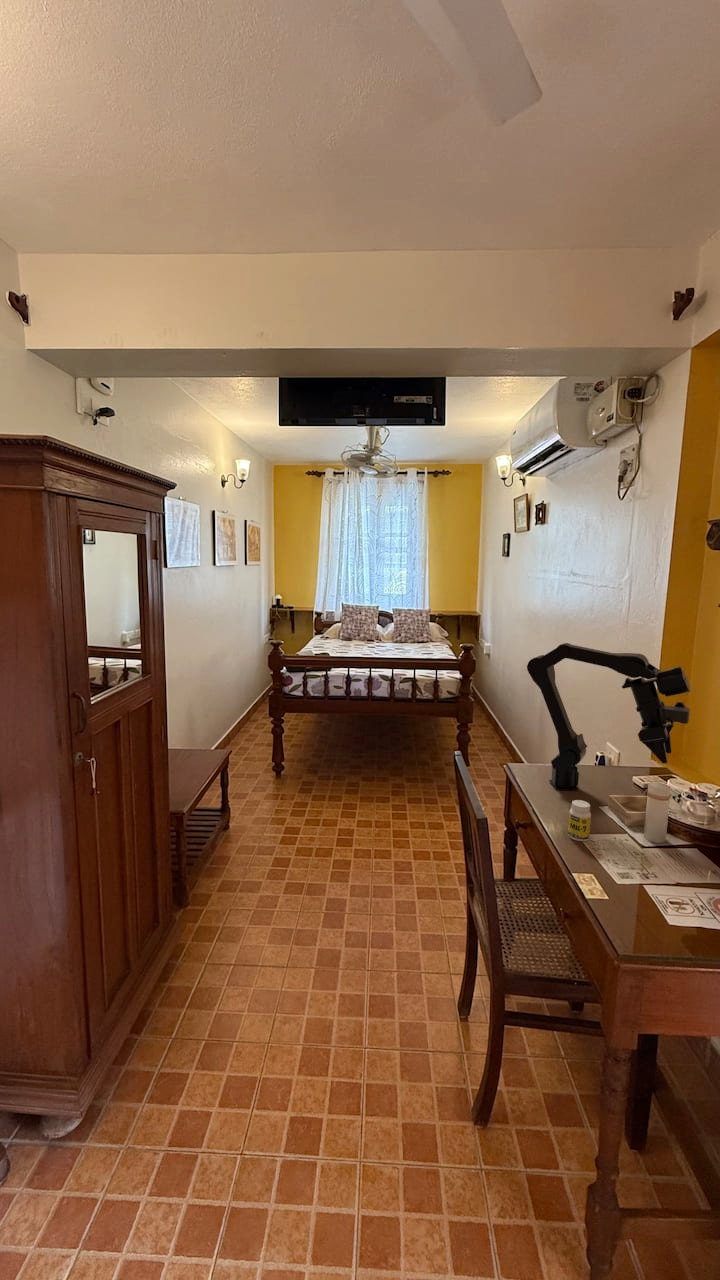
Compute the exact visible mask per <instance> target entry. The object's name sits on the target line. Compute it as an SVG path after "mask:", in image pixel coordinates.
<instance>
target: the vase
mask: <svg viewBox="0 0 720 1280" xmlns="http://www.w3.org/2000/svg"><path fill="white" fill-rule="evenodd" d="M671 790H672V789H671V786H670V785H668V784H665V783H662V782H657V781H655V782H653V781H652V782H648V786H647V793H646V796H647V806H646V817H645V826H644V827H643V828H644V831H643V837H644V839H645V840H647V841H649V842H651V843H654V842H655V843H654V844H664V843H666V842H665V841H667V831H668V820H669V809H670V799H671Z"/></svg>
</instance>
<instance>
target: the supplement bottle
mask: <svg viewBox="0 0 720 1280" xmlns="http://www.w3.org/2000/svg"><path fill="white" fill-rule="evenodd" d="M591 813H592V812H591V805H590V803H589V802H587V801H585V800H581V799H575V800H572V802H571V808H570V809H569V813H568V829H567V836H568V837H569V838H570V839H572V840H573V841H578V842H586V841H588V840H589V839H590V834H591V833H590V831H591V819H592V814H591Z"/></svg>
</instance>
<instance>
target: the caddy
mask: <svg viewBox="0 0 720 1280" xmlns="http://www.w3.org/2000/svg"><path fill="white" fill-rule="evenodd" d="M646 806H647V795H618V794H617V795H614V794H613V795H611V794H609V795H608V801H607V809H608V810H610V812H612V814H613V815H614V816H615V817H616V818H617V819H618V820H619V821H620V822H621V823H622V824H623V825H624V826H625V827H645V817H646Z"/></svg>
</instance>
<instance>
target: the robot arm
mask: <svg viewBox="0 0 720 1280" xmlns="http://www.w3.org/2000/svg"><path fill="white" fill-rule="evenodd" d="M565 659H568V660H573V661H578V662H582V663H585V664H586V663H587V664H591V665H595V666H600V667H604V668H608V669H611V670H612V671H614V672H616V673H619V674H621V675H623V676H626V677H627V678H625V680H624V683H623V684H622V686H621V688H622V689H628V688H630V690H631V692H632V695H633V698H634V701H635V704H636V708H635V710H636V712H637V713H639V716H640V720H641V728H640V730H639V732H638V734H637V736H638V740H639V742H640V743H642V744H644V745H645V746H646V747H647V748H648V750H649V751H651V753H652V754H654V756H655V757H656V758H657V759H658V760H659V761H660V762H661V763H662V764H668V757H667V756H668V755H667V754H671V753H672V752H673V751H672V742H671V731H672V729H673V728H674V726H675V723H681V724H686V725H687V724H689V721H690V712H691V709H690V708H689V707H686V704H685V703H684V702H683V701H677V702H676V703H675V705H666V704H665V701H663V700H662V699H661V698H660V696H659V695H660V694H661V695H664V696H665V697H666V698H667V697H671V696H677V695H682V694H687V693H691V691H692V689H691V685H690V682H689V679H688V676H686V674H685V671H684V670H683V667H682V666H681V665H680V666H674V667H673V668H669V669H666V670H660V669H658V667H656V666H654V665H653V664H651V663H650V662H649V659H648V658H647V656H645V655H644V654H642V653H633V652H632V653H631V652H609V651H604V650H599V649H594V648H589V647H584V646H579V645H575V644H571V643H569V642H564V643H561V644H559V645H558V646H557V647H555V648H554V649H552V650H551V651H549V652H547V653H545V654H544V655H543V654H541V655H538V656H534V657H533V658H531V659H530V660H529V661H528V663H527V665H526V670H527V672H528V674H529V675H530V677H531V680H532V681H533V682H534V683H535V685H536V686H537V687H538V688H539V690H540V693H541V694H542V697H543V700H544V703H545V705H546V707H547V710H548V712H549V716H550V719H551V721H552V723H553V726H554V729H555V732H556V734H557V747H558V748H557V749H558V754H557V755H556V756H555V757H554V758H553V759H551V761H550V763H551V766H552V767H551V779H549V781H550V782H549V783H550V784H551V786H554V787H553V788H554V789H555V790H556V791H579V781H580V779H579V777H580V773H579V771H578V770H579V769H578V767H577V765H579V763H580V762H581V761H582V760H583V759H584V758H585V756H586V754H587V747H588V745H587V744H586V742H585V739H584V735H583V733H579V734H577V732H576V731H575V730H574V729H573V727H572V723H571V721H570V718H569V716H568V713H567V710H566V708H565V705H564V703H563V700H562V697H561V695H560V692H559V689H558V686H557V683H556V671H555V665H557V664H559V663H560V662H562V661H563V660H565ZM632 678H633V679H632Z"/></svg>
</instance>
